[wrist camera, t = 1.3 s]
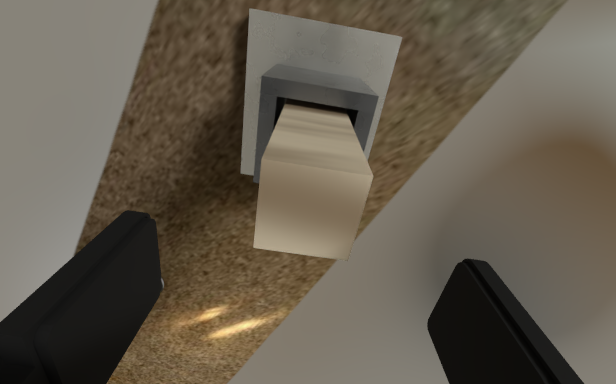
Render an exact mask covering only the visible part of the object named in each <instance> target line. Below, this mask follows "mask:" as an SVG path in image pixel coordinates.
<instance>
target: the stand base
mask: <svg viewBox="0 0 616 384" xmlns="http://www.w3.org/2000/svg"><path fill="white" fill-rule="evenodd" d="M401 40H402V37H400V36H394V35H389V34H384V33H378V32H373V31H368V30H362V29H357V28H352V27H346V26H341V25H336V24H330V23H325V22H320V21H314V20H309V19H304V18H298V17H293V16H288V15H282V14H277V13H272V12H267V11H261V10H256V9H251V8H250V9H249V27H248V45H247V64H246V82H245V100H244V119H243V137H242V155H241V174H247V175H254V177H253V182H255V183H259V182H260V171H261V160H262V157H263V154H264V152H265V150H266V147H267V145H268V143H269V140H270V138H271V136H272V133H273V131H274V129H275V126H276V124H277V122H278V119H279V117H280V114H281V112H282V110H283V107H284V105H285V103H286V100H287V98H290V99H296V100H302V101H308V102H313V103H319V104H325V105H331V106H337V107H343V108H345V110H346V112H347V114H348V117H349V119H350V122H351V124H352V126H353V129H354V131H355V133H356V136H357V138H358V141H359V143H360V145H361V148H362V150H363V153H364V155H365V157H366V160H367V161H368V157H369V154H370V150H371V147H372V143H373V140H374V136H375V132H376V129H377V125H378V122H379V118H380V115H381V111H382V107H383V104H384V100H385V97H386V93H387V90H388V86H389V83H390V79H391V75H392V72H393V68H394V65H395V61H396V58H397V54H398V51H399V47H400V43H401Z"/></svg>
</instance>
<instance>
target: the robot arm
mask: <svg viewBox="0 0 616 384" xmlns="http://www.w3.org/2000/svg"><path fill="white" fill-rule="evenodd" d="M161 289H162V281H161V270H160V260H159V249H158V239H157V229H156V221H155V220H154V219H151V218H150V215H149V214H148V213H143V212H136V211H129V210H128V211H125V212H123V213H122V214H121V215H120V216H119V217H118V218H116V219H115V220H114V221H113V222H112V223H111V224H110V225H109V226H107V227H106V228H105V229H104V230H103V231H102V232H101V233H100V234H98V235H97V236H96V237H95V238H94V239H93V240H92V241H91V242H90V243H88V244H87V245H86V246H85V247H84V248H83V249H82V250H81V251H79V252H78V253H77V254H76V255H75V256H74V257H73V258H72V259H71V260H69V261H68V262H67V263H66V264H65V265H64V266H63V267H62V268H60V269H59V270H58V271H57V272H56V273H55V274H54V275H53V276H52V277H51V278H49V279H48V280H47V281H46V282H45V283H44V284H43V285H42V286H40V287H39V288H38V289H37V290H36V291H35V292H34V293H33V294H31V295H30V296H29V297H28V298H27V299H26V300H25V301H24V302H22V303H21V304H20V305H19V306H18V307H17V308H16V309H15V310H14V311H12V312H11V313H10V314H9V315H8V316H7V317H6V318H5V319H3V320H2V321H1V322H0V384H106V383H107V382H108V380H109V378H110V377H111V375H112V373H113V372H114V370H115V368H116V367H117V365H118V364H119V362H120V360H121V359H122V357H123V355H124V354H125V352H126V350H127V349H128V347H129V345H130V344H131V342H132V340H133V339H134V337H135V336H136V334H137V332H138V331H139V329H140V327H141V326H142V324H143V322H144V321H145V319H146V317H147V316H148V314H149V312H150V311H151V309H152V307H153V306H154V304H155V303H156V301H157V299H158V297H159V296H160V293H161ZM428 331H429V334H430V336H431V339H432V341H433V344H434V346H435V349H436V351H437V354H438V356H439V359H440V361H441V364H442V366H443V369H444V371H445V374H446V376H447V379H448V381H449V384H584V383H583V382H582V380H581V379H580V378H579V377H578V375H577V374H576V373H575V372H574V370H573V369H572V368H571V367H570V366H569V364H568V363H567V362H566V360H565V359H564V358H563V357H562V355H561V354H560V353H559V351H558V350H557V349H556V348H555V347H554V345H553V344H552V343H551V341H550V340H549V339H548V338H547V336H546V335H545V334H544V333H543V331H542V330H541V329H540V328H539V326H538V325H537V324H536V323H535V321H534V320H533V319H532V318H531V316H530V315H529V314H528V312H527V311H526V310H525V309H524V307H523V306H522V305H521V304H520V302H519V301H518V300H517V299H516V297H514V295H513V294H512V292H511V291H510V290H509V289H508V287H507V286H506V285H505V284H504V282H503V281H502V280H501V279H500V277H499V276H498V275H497V273H496V272H495V271H494V270H493V268H492V267H491V266H490V265H489V264H488V263H487V262H485V261H480V260H474V259H464V260H463V261H462V262H460V263H458V264H457V265H456V267H455V269H454V271H453V273H452V275H451V276H450V278H449V280H448V282H447V284H446V286H445V288H444V290H443V292H442V294H441V296H440V298H439V300H438V302H437V303H436V305H435V307H434V309H433V311H432V313H431V315H430V317H429V319H428Z"/></svg>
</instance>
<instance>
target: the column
mask: <svg viewBox="0 0 616 384" xmlns="http://www.w3.org/2000/svg"><path fill="white" fill-rule="evenodd" d="M372 179H373V174H372V172H371V169H370V167H369V165H368V162H367V160H366V157H365V155H364V153H363V150H362V148H361V145H360V143H359V141H358V138H357V136H356V133H355V131H354V129H353V126H352V124H351V122H350V119H349V117H348V114H347V112H346V110H345V108H343V107H337V106H331V105H325V104H319V103H313V102H308V101H302V100H296V99H290V98H287V100H286V103H285V105H284V107H283V110H282V112H281V114H280V117H279V119H278V122H277V124H276V126H275V129H274V131H273V133H272V136H271V138H270V140H269V143H268V145H267V147H266V150H265V152H264V154H263V157H262V160H261V171H260V182H259V193H258V204H257V215H256V226H255V237H254V248H259V249H266V250H274V251H281V252H288V253H295V254H303V255H310V256H317V257H324V258H331V259H339V260H346V261H348V259H349V256H350V253H351V249H352V246H353V243H354V239H355V236H356V233H357V229H358V226H359V223H360V219H361V216H362V213H363V209H364V206H365V203H366V199H367V196H368V193H369V189H370V186H371V183H372Z"/></svg>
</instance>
